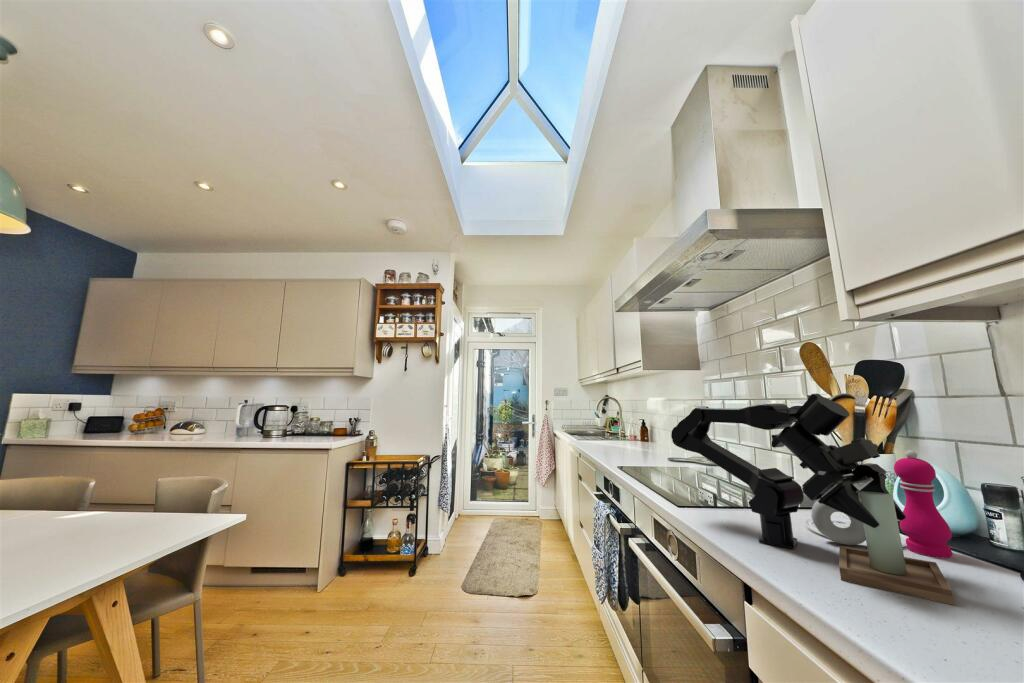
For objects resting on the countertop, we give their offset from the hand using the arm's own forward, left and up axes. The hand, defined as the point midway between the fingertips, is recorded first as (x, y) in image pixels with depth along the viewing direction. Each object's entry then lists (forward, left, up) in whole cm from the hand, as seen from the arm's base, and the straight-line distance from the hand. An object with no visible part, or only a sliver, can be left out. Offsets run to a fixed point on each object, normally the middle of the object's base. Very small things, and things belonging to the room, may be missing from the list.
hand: (890, 522), depth 66 cm
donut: (-16, -7, -10) cm, 20 cm away
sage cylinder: (-1, -1, -8) cm, 8 cm away
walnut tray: (-1, -1, -9) cm, 9 cm away
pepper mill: (-21, +6, -10) cm, 23 cm away
